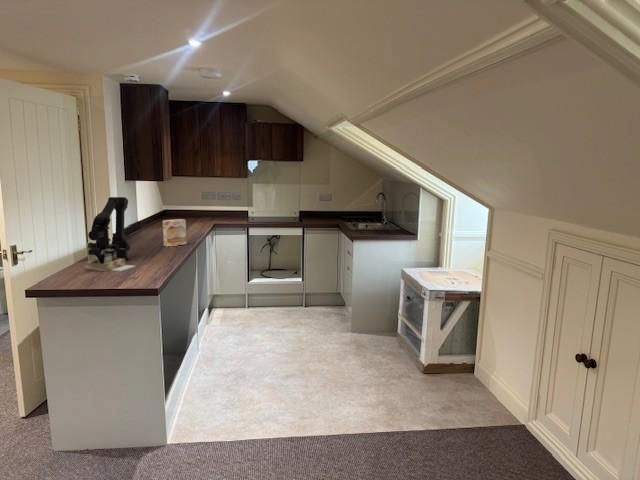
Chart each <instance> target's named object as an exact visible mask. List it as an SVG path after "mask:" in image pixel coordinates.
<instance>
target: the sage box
mask: <svg viewBox="0 0 640 480" xmlns="http://www.w3.org/2000/svg"><path fill="white" fill-rule="evenodd" d="M103 254H105V256H104V263H108V262H111V261H112V258H113V257H112V254H111V253H105V252H103ZM98 261H99V260H98ZM99 263H100V262H99ZM104 263H103V264H104Z"/></svg>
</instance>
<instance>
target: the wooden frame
mask: <svg viewBox="0 0 640 480" xmlns="http://www.w3.org/2000/svg"><path fill="white" fill-rule="evenodd" d="M125 265H127V264H126V260H125V259H123V258H116V257H112V261H111V262H108V263H104V264H100V263H99V261H98V259H96V260H92V261H89V262H88V261H85V262H84V270H87V271H96V272H97V271H98V272H99V271H100V272H108V271H112V269H115V268H119V267H122V266H125Z"/></svg>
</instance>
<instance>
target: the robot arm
mask: <svg viewBox="0 0 640 480" xmlns="http://www.w3.org/2000/svg"><path fill="white" fill-rule="evenodd" d="M128 204H129V200H128V198H127V197H125V196H111V197H108V199H107V202H106V204H105V206H104V208H102V211H101V212H100V213H97V214H96V215H95V217H94V218H93V221H92V225H91V229H90V231H89V232H88V234H87V235H88V238H89V240H91V241H89V242H90V243H89V242H87V243H88V248H91V249H90V250H89V251H88V254H89V255H95V256H97V258H98V260H99V262H100V264H103V263H104V256H105V254H103V253H111V254H112V258H114V254H115V255H116V257H115V258H123V259H125V261H127V260H130V259H131V258H130V257H129V255H128V251H130V250H131V245H130V244H129V242H128V237H126V235H125V212H126V210H127V208H128ZM114 210H115V234H114V236H112V237H111V238H110V236H109V235H110V234H109V230H110V227H109V225H110V223H111V215H112V213H113V211H114ZM110 241H111V244H110ZM92 242H96V243H92ZM88 254H87V255H88Z"/></svg>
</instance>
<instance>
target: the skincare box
mask: <svg viewBox="0 0 640 480" xmlns="http://www.w3.org/2000/svg"><path fill="white" fill-rule="evenodd" d="M90 242H92V243H96V241H89V242H87V243H85V244H86V252H87V260H88V261H87V262H89V261H92V260H96V259H98V258H97V256H95V255H89V254H88V251H89V250H90V249H91V248H88V243H90Z"/></svg>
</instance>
